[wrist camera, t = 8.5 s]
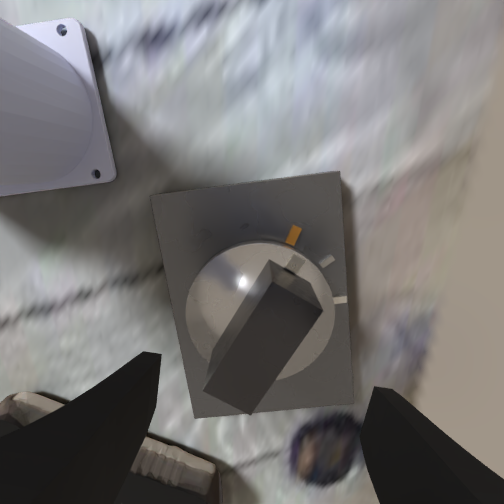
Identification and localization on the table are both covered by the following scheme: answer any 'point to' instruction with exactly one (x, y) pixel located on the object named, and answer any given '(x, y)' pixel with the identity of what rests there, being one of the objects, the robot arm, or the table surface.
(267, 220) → the dial plate
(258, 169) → the table surface
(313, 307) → the dial
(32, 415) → the dark scrub brush
